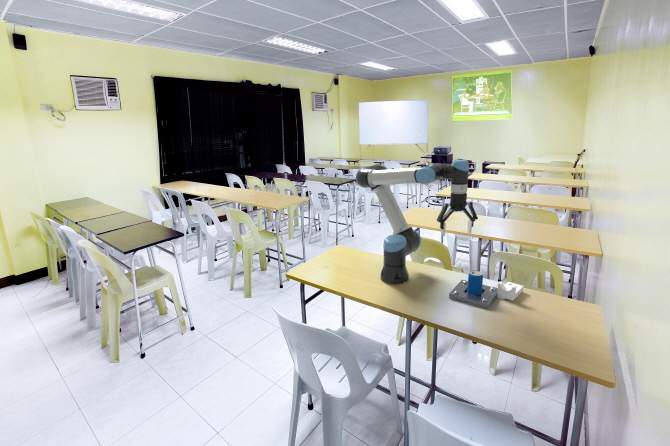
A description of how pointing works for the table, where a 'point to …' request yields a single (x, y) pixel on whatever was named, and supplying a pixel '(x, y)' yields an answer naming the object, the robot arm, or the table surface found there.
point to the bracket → (509, 290)
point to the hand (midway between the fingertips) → (456, 234)
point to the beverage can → (475, 283)
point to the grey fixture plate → (483, 301)
